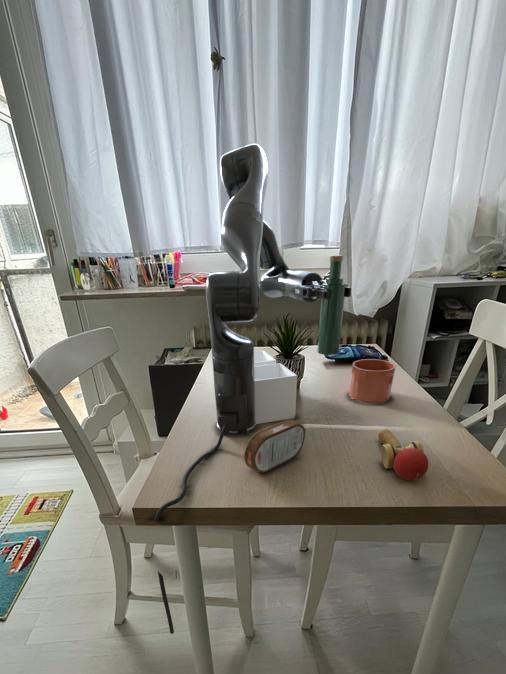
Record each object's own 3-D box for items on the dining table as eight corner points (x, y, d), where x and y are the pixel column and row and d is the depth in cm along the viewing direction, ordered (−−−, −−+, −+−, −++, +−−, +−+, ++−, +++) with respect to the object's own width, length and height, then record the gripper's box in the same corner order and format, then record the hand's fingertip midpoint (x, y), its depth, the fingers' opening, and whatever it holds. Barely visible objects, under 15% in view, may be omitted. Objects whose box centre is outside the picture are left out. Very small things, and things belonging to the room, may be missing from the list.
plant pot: (392, 405, 103) (399, 371, 99) (350, 403, 105) (354, 370, 100) (386, 390, 113) (391, 359, 108) (347, 389, 114) (350, 358, 109)
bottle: (339, 355, 105) (350, 256, 92) (317, 354, 106) (324, 256, 93) (338, 349, 110) (348, 254, 97) (317, 348, 110) (324, 254, 98)
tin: (295, 449, 84) (297, 412, 80) (306, 454, 82) (309, 417, 78) (243, 474, 76) (242, 435, 72) (254, 480, 74) (253, 441, 70)
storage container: (295, 418, 98) (297, 375, 92) (254, 424, 96) (253, 381, 90) (263, 386, 119) (262, 350, 113) (228, 391, 116) (226, 354, 110)
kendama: (362, 448, 86) (390, 482, 70) (370, 420, 84) (401, 450, 68) (395, 452, 87) (431, 488, 71) (404, 425, 85) (444, 456, 68)
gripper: (281, 272, 106) (316, 278, 93) (325, 269, 111) (364, 274, 98) (280, 302, 110) (314, 312, 97) (323, 298, 115) (360, 307, 102)
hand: (339, 293), depth 98 cm, fingers closed on bottle, 6 cm apart
